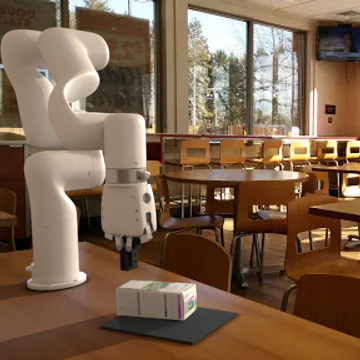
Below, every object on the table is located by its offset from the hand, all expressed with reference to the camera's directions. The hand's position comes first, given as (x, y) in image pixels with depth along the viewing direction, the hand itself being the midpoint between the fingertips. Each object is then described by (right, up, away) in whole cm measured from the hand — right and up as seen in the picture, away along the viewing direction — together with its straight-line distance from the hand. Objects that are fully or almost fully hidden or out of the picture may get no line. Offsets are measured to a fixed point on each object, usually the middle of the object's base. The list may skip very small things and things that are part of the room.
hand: (129, 269), depth 98 cm
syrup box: (-2, -6, +1) cm, 6 cm away
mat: (+9, -10, -2) cm, 14 cm away
